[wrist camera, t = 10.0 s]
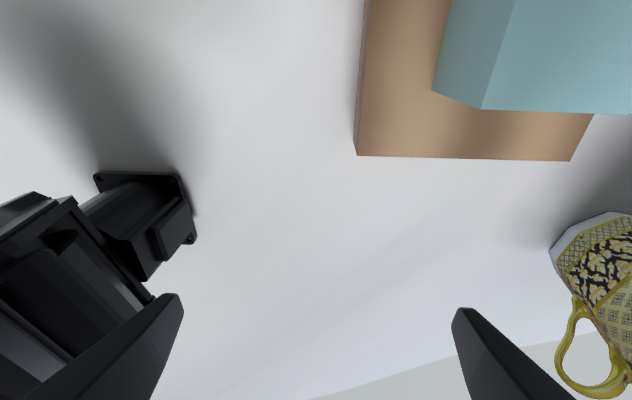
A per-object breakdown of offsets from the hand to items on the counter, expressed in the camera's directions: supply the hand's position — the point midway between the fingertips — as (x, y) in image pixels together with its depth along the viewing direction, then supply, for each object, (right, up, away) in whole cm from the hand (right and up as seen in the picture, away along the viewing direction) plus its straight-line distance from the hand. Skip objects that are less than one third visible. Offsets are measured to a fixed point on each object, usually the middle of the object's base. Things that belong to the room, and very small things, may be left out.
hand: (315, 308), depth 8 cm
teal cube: (+9, +11, +4) cm, 14 cm away
